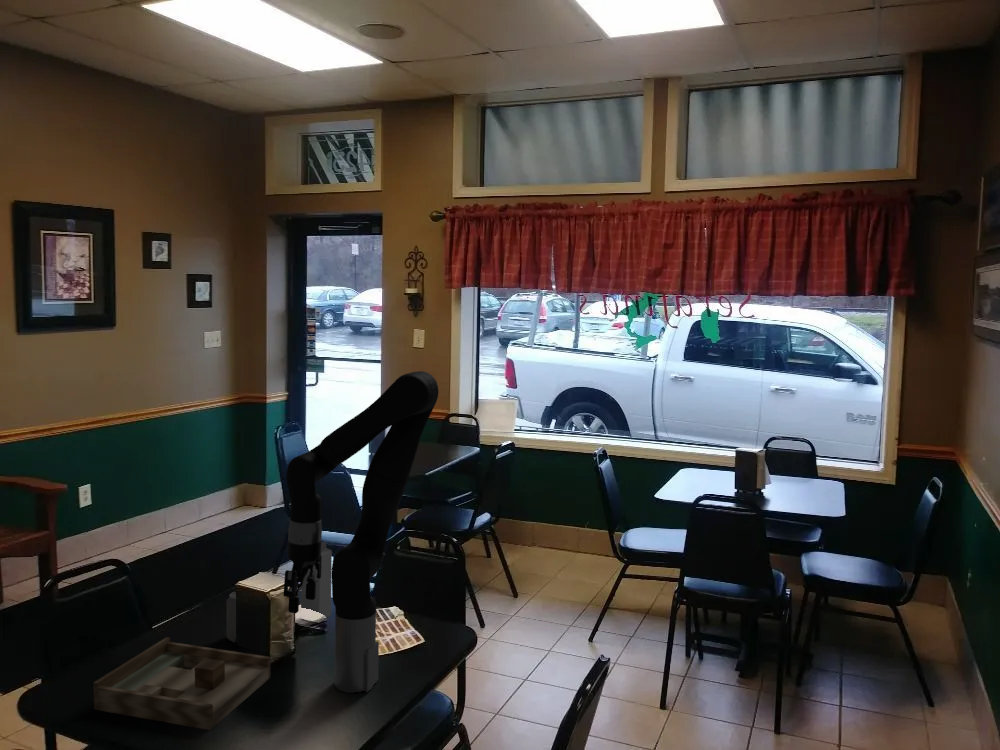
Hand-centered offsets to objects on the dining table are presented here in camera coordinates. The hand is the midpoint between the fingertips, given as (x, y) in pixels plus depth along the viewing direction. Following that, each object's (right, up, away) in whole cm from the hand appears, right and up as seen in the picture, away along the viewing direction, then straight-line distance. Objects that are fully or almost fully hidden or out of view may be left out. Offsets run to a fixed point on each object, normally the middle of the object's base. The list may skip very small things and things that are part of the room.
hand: (302, 605), depth 187 cm
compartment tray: (-24, -17, -8) cm, 31 cm away
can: (-21, -15, +21) cm, 33 cm away
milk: (-5, -14, +36) cm, 39 cm away
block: (-18, -15, -9) cm, 25 cm away
